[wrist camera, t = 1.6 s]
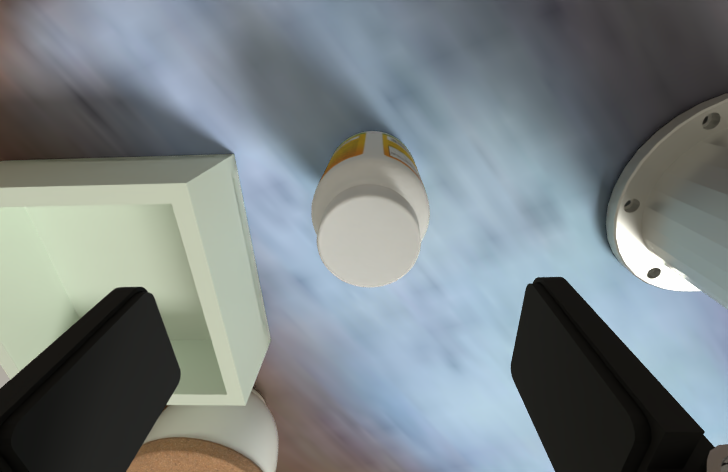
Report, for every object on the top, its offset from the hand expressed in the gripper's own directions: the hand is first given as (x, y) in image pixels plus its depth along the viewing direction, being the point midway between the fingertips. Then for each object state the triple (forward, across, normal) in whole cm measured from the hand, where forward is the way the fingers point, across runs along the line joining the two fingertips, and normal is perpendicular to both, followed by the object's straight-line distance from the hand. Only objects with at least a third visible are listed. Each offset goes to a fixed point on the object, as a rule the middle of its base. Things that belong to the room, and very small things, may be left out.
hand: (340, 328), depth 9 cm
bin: (+15, +15, +6) cm, 22 cm away
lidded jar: (+15, +12, +21) cm, 29 cm away
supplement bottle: (+15, -1, 0) cm, 15 cm away
